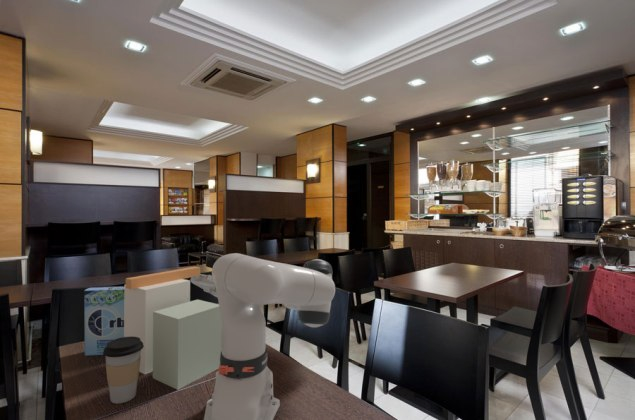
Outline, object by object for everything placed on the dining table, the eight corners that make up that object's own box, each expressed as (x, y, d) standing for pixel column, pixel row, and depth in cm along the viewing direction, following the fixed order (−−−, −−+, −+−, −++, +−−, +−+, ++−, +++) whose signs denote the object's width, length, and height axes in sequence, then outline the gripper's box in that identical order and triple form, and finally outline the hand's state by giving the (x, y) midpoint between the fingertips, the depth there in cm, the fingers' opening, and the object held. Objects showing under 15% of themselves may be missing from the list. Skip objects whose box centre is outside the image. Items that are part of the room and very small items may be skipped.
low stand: (196, 357, 113) (197, 299, 113) (221, 367, 107) (222, 305, 107) (152, 378, 99) (153, 311, 99) (177, 389, 93) (178, 319, 93)
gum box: (148, 347, 121) (149, 285, 121) (143, 353, 116) (144, 288, 116) (91, 350, 118) (91, 286, 118) (83, 356, 113) (83, 289, 113)
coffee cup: (117, 387, 94) (117, 334, 94) (150, 388, 94) (150, 335, 94) (94, 407, 84) (94, 349, 84) (130, 408, 84) (130, 349, 84)
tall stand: (168, 347, 121) (168, 276, 121) (189, 355, 115) (190, 280, 115) (123, 364, 108) (124, 284, 108) (144, 374, 101) (145, 289, 101)
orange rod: (195, 274, 126) (195, 266, 126) (200, 275, 124) (200, 267, 124) (125, 287, 103) (125, 278, 103) (130, 289, 102) (130, 279, 102)
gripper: (238, 298, 130) (214, 286, 119) (203, 291, 140) (178, 280, 130) (244, 283, 132) (221, 270, 122) (209, 277, 143) (185, 265, 133)
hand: (198, 275), depth 126 cm, fingers open, 8 cm apart
